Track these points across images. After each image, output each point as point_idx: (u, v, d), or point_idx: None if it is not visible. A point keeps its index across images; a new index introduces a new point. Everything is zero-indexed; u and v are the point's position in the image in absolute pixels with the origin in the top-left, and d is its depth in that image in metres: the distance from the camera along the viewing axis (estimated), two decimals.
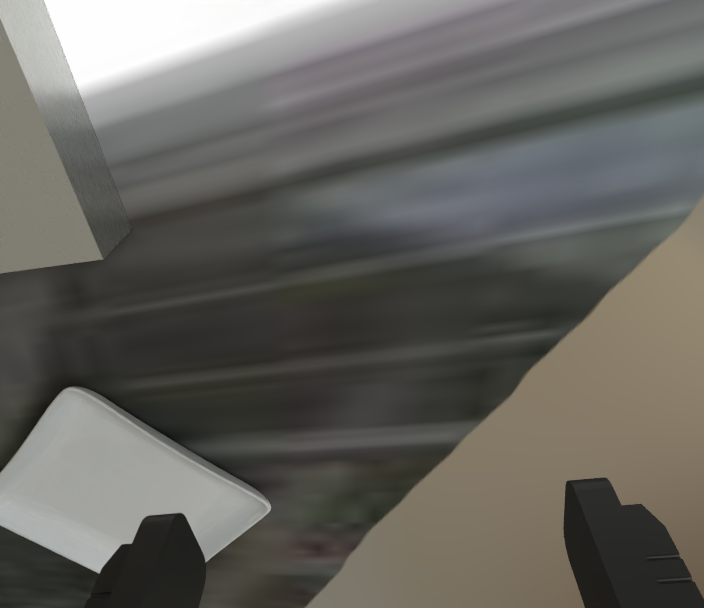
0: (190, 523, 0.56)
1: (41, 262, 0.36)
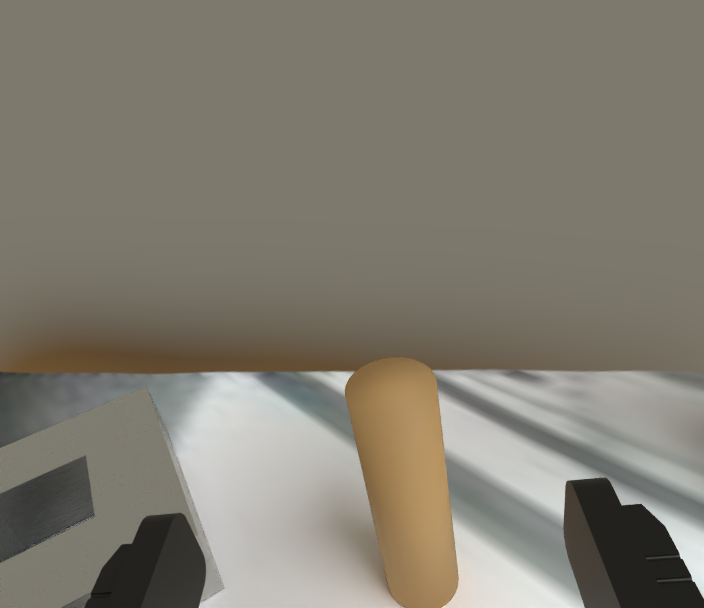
0: None
1: None
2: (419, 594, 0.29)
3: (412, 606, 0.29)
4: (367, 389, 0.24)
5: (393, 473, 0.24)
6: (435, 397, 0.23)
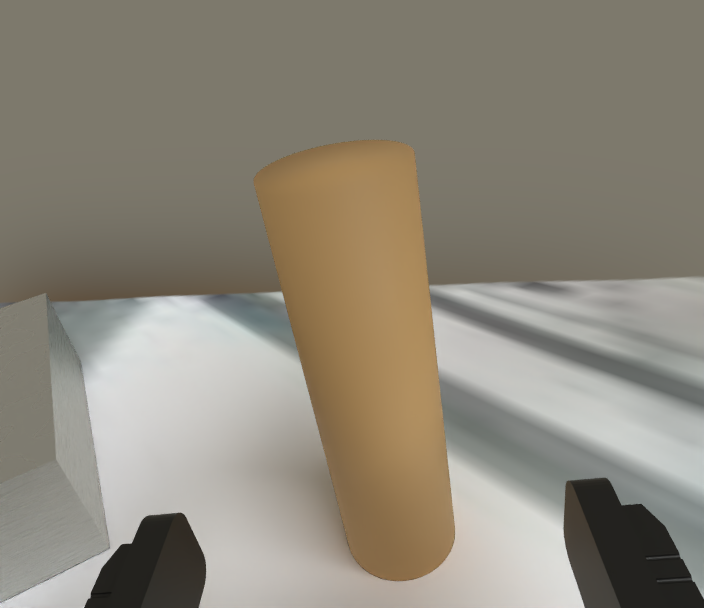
0: None
1: None
2: (392, 551, 0.18)
3: (382, 571, 0.19)
4: (293, 171, 0.14)
5: (338, 319, 0.14)
6: (411, 174, 0.13)
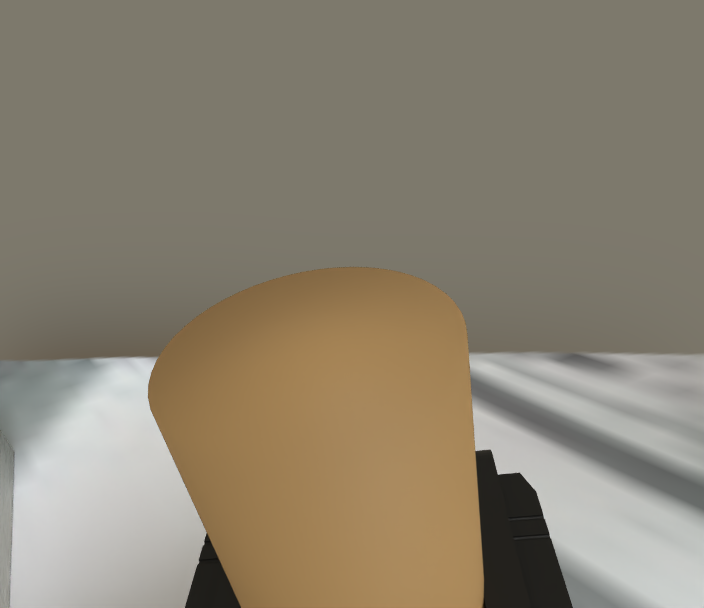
0: None
1: None
2: None
3: None
4: (229, 354, 0.07)
5: None
6: (464, 381, 0.06)
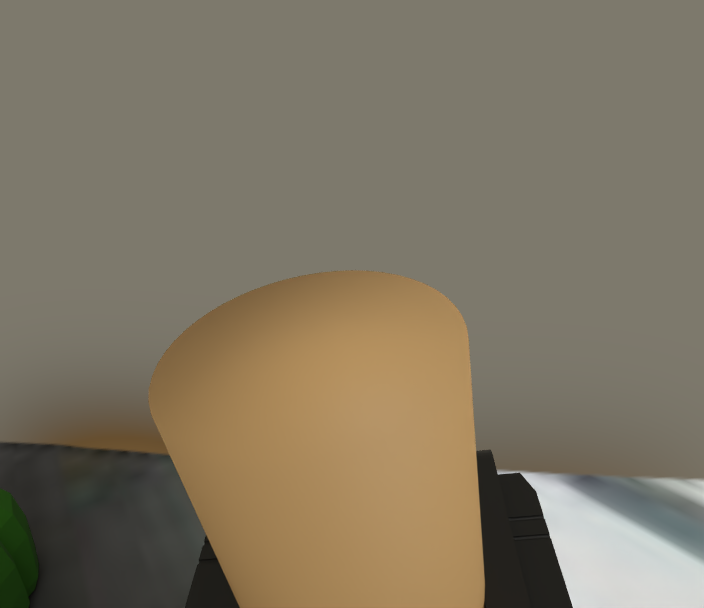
0: None
1: None
2: None
3: None
4: (230, 358, 0.07)
5: None
6: (465, 386, 0.06)
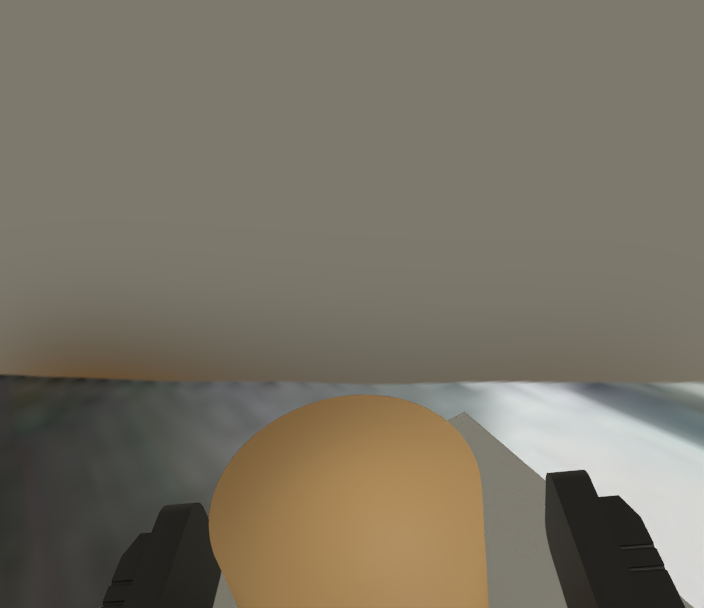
0: None
1: None
2: None
3: None
4: (276, 494, 0.08)
5: None
6: (479, 530, 0.08)
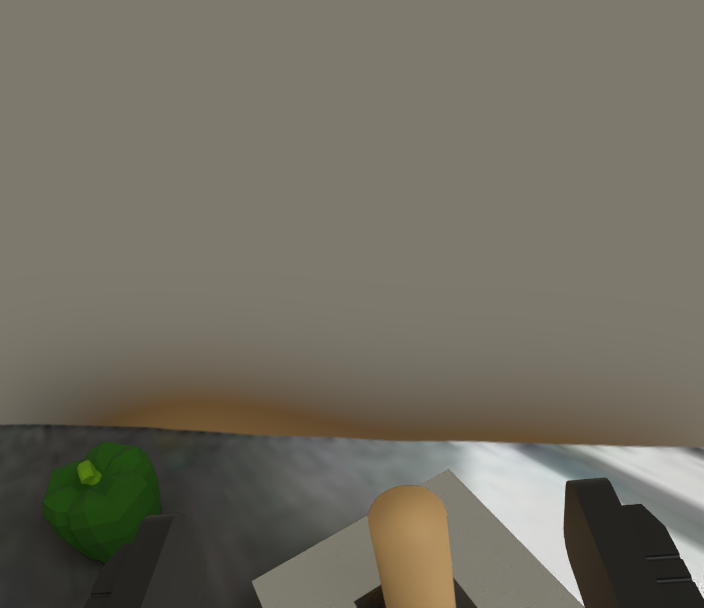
0: None
1: None
2: None
3: None
4: (387, 519, 0.28)
5: (409, 591, 0.28)
6: (445, 530, 0.27)
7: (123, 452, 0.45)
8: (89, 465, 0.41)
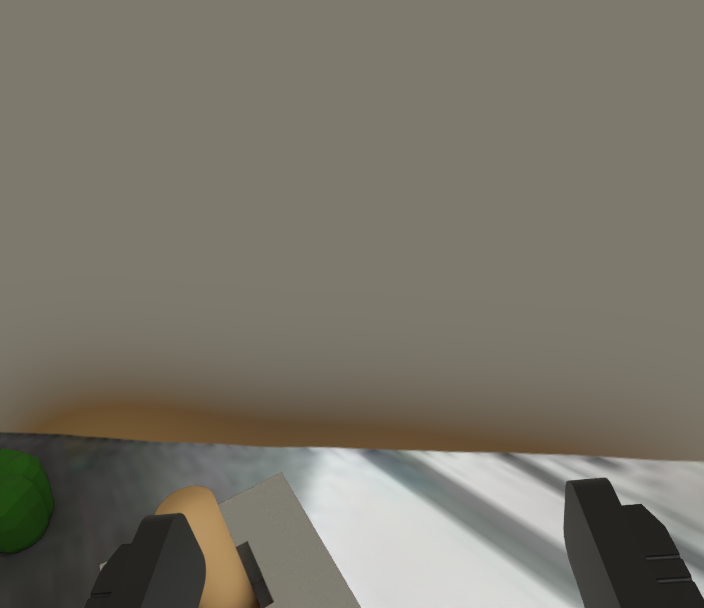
0: None
1: None
2: None
3: None
4: (169, 512, 0.36)
5: None
6: (210, 520, 0.35)
7: (14, 458, 0.53)
8: None
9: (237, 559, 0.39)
